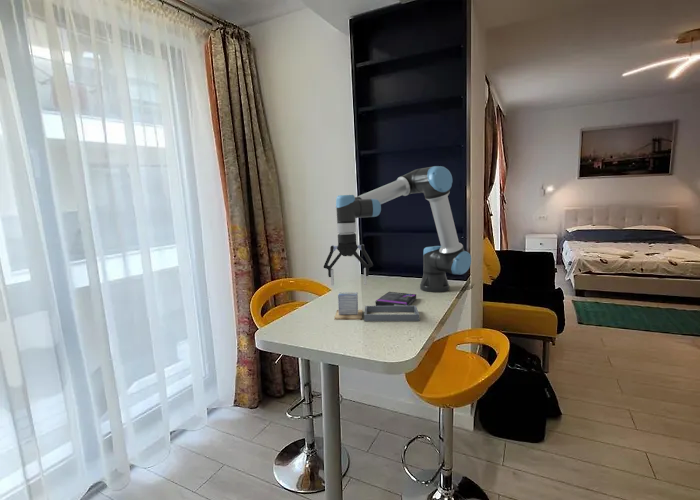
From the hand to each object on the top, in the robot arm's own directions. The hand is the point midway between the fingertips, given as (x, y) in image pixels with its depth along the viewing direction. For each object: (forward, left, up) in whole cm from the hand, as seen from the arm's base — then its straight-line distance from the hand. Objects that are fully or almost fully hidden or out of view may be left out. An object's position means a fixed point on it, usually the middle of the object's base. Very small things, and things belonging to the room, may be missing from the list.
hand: (349, 284), depth 151 cm
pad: (0, 0, -13) cm, 13 cm away
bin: (-17, +1, -13) cm, 22 cm away
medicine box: (+1, 0, -13) cm, 13 cm away
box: (-21, -19, -14) cm, 31 cm away
